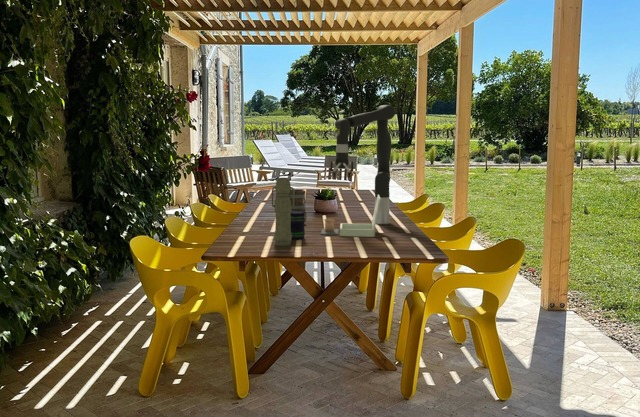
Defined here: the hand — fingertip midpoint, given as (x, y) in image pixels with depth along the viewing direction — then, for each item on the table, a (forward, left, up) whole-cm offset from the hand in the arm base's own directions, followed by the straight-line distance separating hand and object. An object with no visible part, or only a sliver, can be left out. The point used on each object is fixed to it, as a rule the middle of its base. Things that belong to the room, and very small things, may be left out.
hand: (341, 178), depth 357 cm
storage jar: (+24, +44, -30) cm, 59 cm away
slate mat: (+6, +23, -30) cm, 38 cm away
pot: (+6, +23, -29) cm, 38 cm away
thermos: (+29, +61, -30) cm, 74 cm away
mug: (+34, -64, -30) cm, 79 cm away
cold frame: (-11, +23, -30) cm, 40 cm away
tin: (+29, -2, -30) cm, 42 cm away
